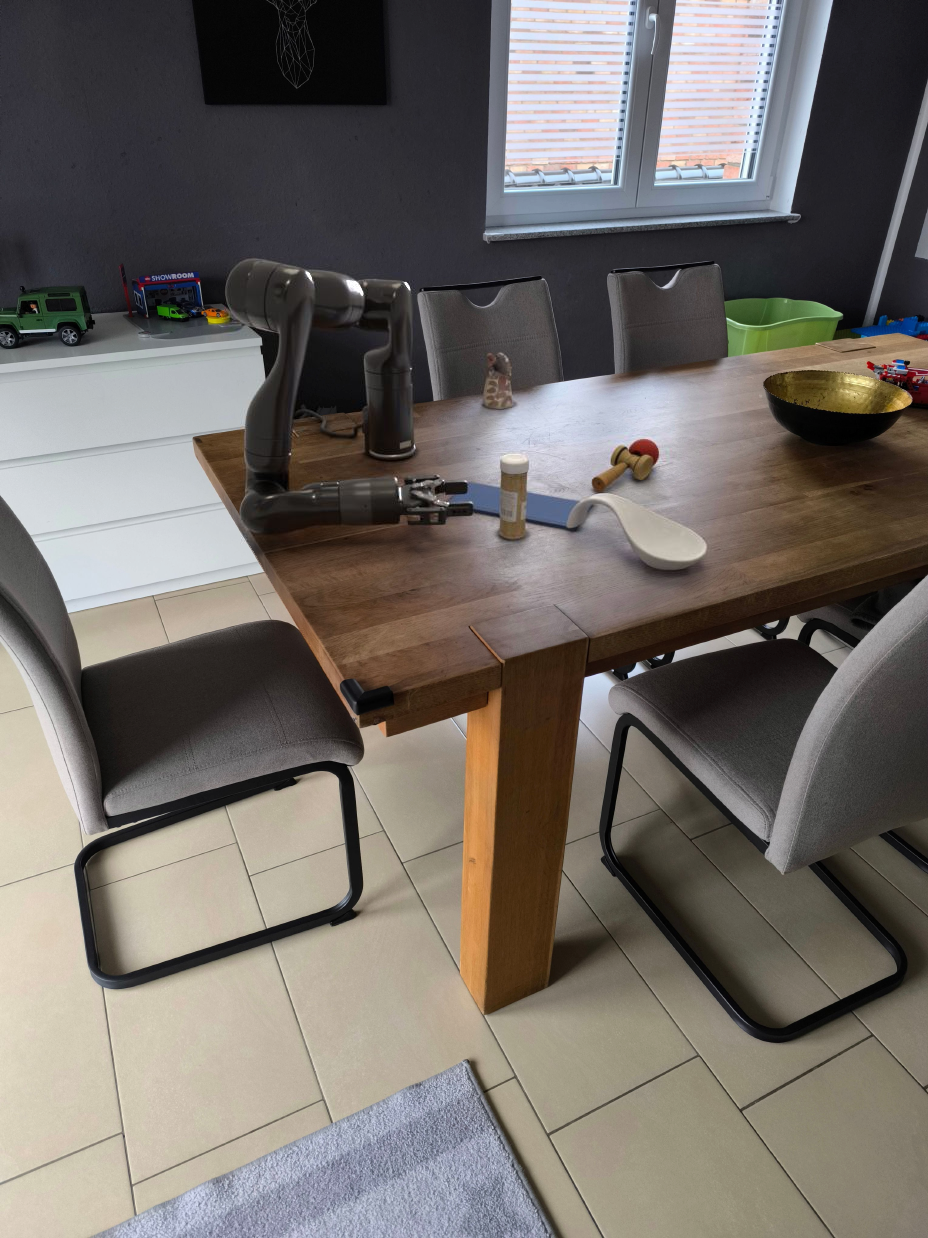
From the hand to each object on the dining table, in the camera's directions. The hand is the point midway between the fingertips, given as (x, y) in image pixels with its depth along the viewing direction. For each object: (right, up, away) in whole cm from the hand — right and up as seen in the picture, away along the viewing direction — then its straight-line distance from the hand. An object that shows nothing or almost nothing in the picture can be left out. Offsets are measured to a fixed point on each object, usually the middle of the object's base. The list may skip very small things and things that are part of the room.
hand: (470, 497), depth 134 cm
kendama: (+30, +7, +25) cm, 39 cm away
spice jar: (+7, -6, +4) cm, 10 cm away
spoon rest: (+26, -9, -1) cm, 27 cm away
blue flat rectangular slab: (+9, 0, +14) cm, 16 cm away
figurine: (+7, +31, +63) cm, 70 cm away
